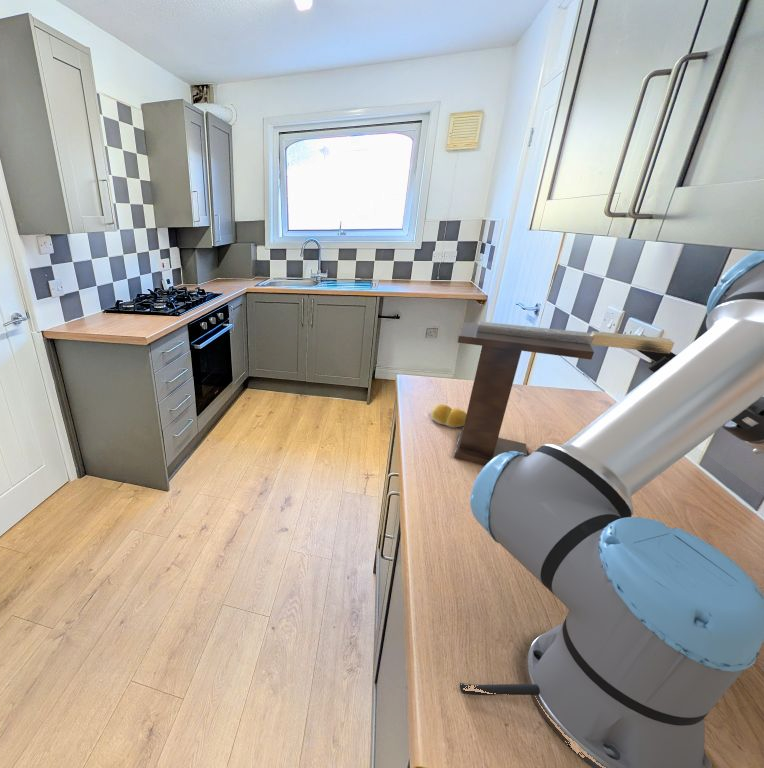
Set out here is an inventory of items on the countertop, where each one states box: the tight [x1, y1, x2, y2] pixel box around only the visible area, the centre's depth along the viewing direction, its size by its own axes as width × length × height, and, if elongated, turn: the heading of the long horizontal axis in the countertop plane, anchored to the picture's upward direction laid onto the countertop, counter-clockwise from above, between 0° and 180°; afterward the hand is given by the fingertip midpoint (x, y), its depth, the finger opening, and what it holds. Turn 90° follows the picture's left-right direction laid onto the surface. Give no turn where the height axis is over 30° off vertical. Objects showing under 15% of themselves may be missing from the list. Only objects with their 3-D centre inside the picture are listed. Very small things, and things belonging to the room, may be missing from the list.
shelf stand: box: [453, 321, 595, 466], centre depth 86 cm, size 22×12×29 cm, turn 59°
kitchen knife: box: [477, 321, 675, 353], centre depth 76 cm, size 30×3×2 cm, turn 59°
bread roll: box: [429, 403, 467, 429], centre depth 105 cm, size 8×9×4 cm
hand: (646, 350), depth 71 cm, fingers open, 13 cm apart
